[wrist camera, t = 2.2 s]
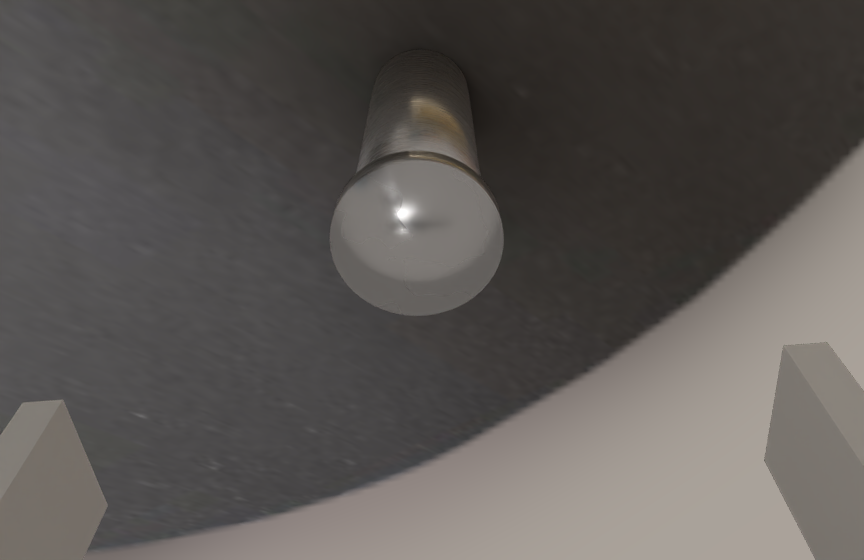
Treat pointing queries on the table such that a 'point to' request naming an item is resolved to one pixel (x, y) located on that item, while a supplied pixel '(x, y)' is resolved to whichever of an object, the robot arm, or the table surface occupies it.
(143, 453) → the table surface
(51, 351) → the table surface
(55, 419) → the robot arm
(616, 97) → the table surface
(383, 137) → the pin
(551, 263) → the table surface
